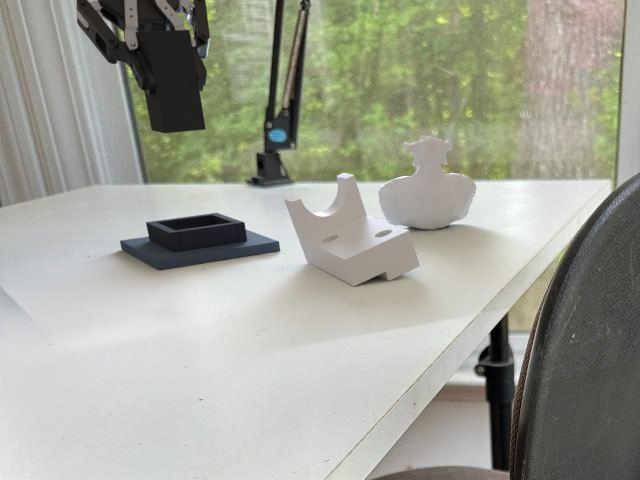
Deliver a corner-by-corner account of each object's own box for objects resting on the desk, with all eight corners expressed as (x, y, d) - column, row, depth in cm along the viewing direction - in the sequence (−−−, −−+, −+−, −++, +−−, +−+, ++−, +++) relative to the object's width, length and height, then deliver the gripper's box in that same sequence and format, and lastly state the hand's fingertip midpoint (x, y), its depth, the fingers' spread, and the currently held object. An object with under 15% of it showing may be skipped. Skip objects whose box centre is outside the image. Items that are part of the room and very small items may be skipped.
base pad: (121, 249, 105) (115, 222, 103) (234, 233, 111) (230, 206, 109) (158, 270, 95) (152, 240, 93) (280, 250, 101) (276, 222, 99)
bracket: (310, 270, 96) (283, 198, 91) (367, 244, 98) (344, 172, 93) (357, 295, 86) (330, 216, 82) (420, 266, 88) (397, 186, 83)
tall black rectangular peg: (151, 130, 97) (132, 32, 92) (191, 126, 99) (175, 30, 94) (164, 133, 94) (145, 31, 89) (206, 129, 96) (189, 29, 91)
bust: (383, 250, 110) (386, 178, 99) (373, 201, 112) (375, 126, 101) (478, 242, 111) (491, 170, 101) (466, 194, 114) (478, 120, 103)
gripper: (178, -17, 101) (236, 109, 99) (47, -15, 95) (106, 121, 93) (185, -81, 95) (247, 53, 93) (44, -83, 88) (107, 61, 86)
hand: (176, 86), depth 93 cm, fingers closed on tall black rectangular peg, 4 cm apart
